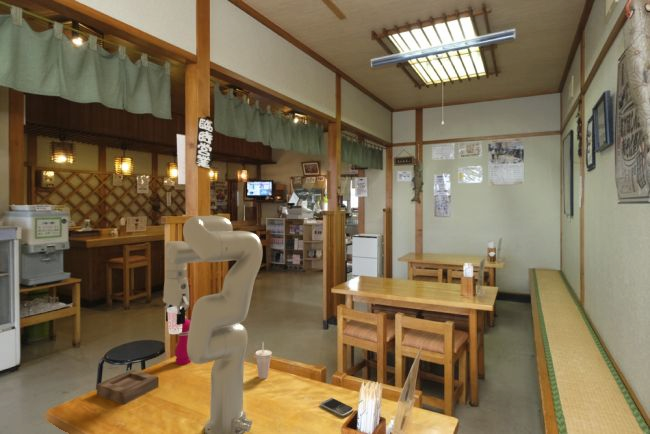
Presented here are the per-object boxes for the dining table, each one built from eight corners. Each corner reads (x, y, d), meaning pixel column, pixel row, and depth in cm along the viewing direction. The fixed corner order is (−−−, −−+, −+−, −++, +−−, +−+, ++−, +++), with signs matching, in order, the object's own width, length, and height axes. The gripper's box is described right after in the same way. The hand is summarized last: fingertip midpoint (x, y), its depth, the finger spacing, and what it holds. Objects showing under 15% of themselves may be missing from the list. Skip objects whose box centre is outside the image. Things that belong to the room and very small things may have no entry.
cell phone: (343, 419, 122) (343, 415, 122) (318, 407, 129) (318, 403, 129) (355, 412, 126) (355, 408, 126) (330, 400, 134) (330, 396, 134)
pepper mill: (175, 359, 165) (175, 313, 165) (192, 357, 167) (193, 312, 167) (173, 366, 158) (174, 318, 158) (192, 364, 161) (192, 317, 160)
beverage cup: (187, 330, 145) (187, 293, 145) (177, 335, 139) (177, 297, 139) (173, 329, 146) (173, 292, 146) (162, 333, 140) (163, 296, 140)
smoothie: (251, 379, 148) (252, 343, 148) (259, 372, 154) (260, 338, 154) (266, 381, 146) (267, 345, 146) (273, 374, 152) (274, 340, 152)
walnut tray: (158, 388, 140) (158, 376, 140) (124, 405, 127) (124, 393, 127) (131, 380, 146) (132, 369, 146) (96, 396, 133) (96, 384, 133)
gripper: (198, 275, 140) (198, 324, 141) (171, 270, 150) (171, 316, 151) (180, 278, 134) (180, 329, 135) (153, 273, 144) (153, 320, 145)
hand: (175, 321), depth 143 cm, fingers closed on beverage cup, 6 cm apart
